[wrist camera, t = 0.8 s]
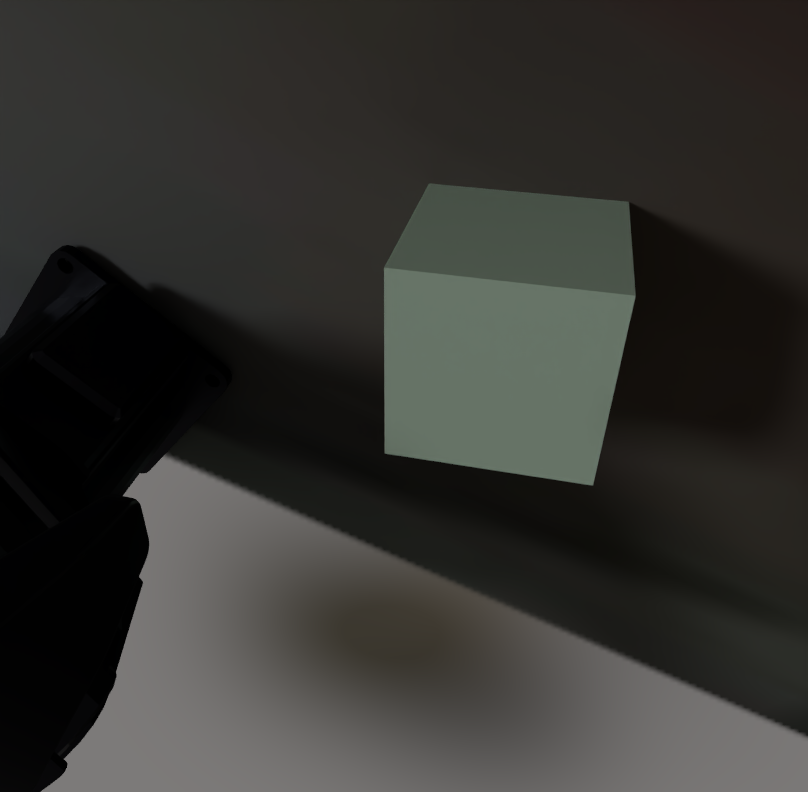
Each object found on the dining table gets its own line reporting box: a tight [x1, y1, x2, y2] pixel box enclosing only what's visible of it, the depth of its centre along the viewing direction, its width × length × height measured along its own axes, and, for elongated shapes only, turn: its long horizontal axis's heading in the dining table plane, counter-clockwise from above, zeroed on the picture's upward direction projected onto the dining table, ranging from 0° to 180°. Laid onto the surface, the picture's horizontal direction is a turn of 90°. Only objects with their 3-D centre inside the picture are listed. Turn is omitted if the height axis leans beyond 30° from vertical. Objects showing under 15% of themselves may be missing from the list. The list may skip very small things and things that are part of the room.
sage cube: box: [384, 184, 636, 485], centre depth 18 cm, size 5×5×5 cm
